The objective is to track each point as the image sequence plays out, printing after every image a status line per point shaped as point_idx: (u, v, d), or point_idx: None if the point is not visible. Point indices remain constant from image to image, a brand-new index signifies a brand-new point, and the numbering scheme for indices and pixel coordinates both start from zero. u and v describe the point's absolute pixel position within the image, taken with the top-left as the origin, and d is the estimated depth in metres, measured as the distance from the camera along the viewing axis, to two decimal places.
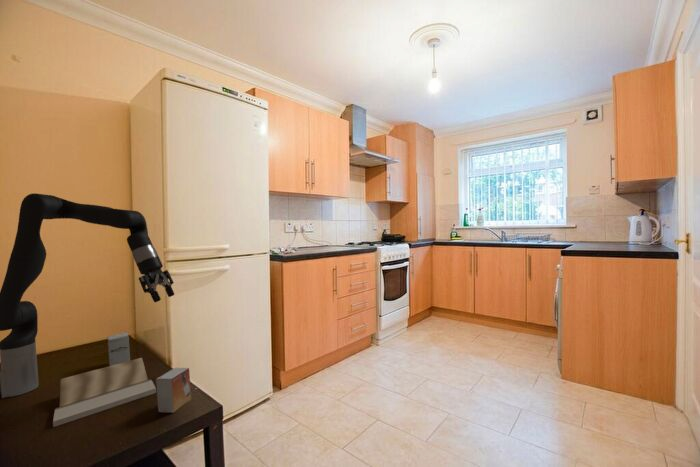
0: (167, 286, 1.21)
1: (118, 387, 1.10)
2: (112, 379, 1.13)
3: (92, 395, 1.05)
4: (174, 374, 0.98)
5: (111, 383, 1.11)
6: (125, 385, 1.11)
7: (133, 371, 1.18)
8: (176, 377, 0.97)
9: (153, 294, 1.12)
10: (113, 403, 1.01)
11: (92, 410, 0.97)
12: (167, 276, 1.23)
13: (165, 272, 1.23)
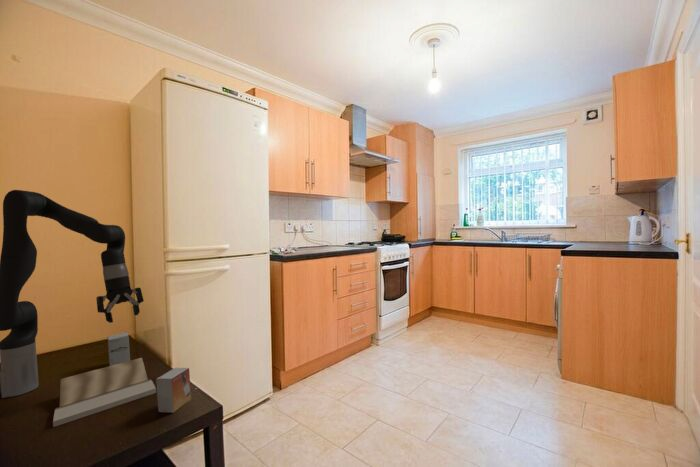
0: (134, 304, 1.22)
1: (118, 387, 1.10)
2: (112, 379, 1.13)
3: (92, 395, 1.05)
4: (174, 374, 0.98)
5: (111, 383, 1.11)
6: (125, 385, 1.11)
7: (133, 371, 1.18)
8: (176, 377, 0.97)
9: (106, 315, 1.14)
10: (113, 403, 1.01)
11: (92, 410, 0.97)
12: (138, 294, 1.23)
13: (136, 290, 1.23)
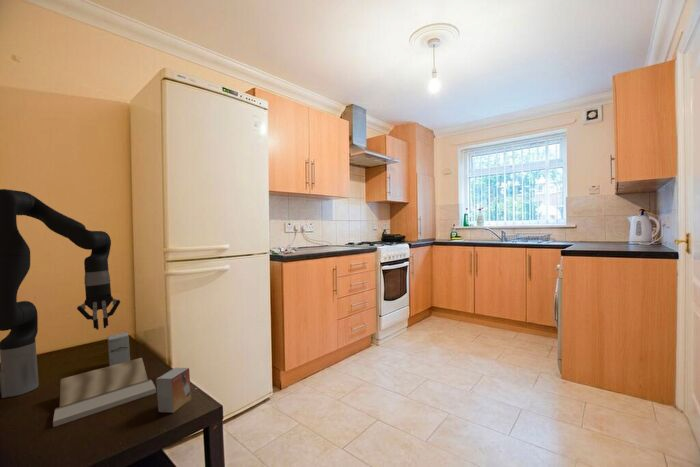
0: None
1: (118, 387, 1.10)
2: (112, 379, 1.13)
3: (92, 395, 1.05)
4: (174, 374, 0.98)
5: (111, 383, 1.11)
6: (125, 385, 1.11)
7: (133, 371, 1.18)
8: (176, 377, 0.97)
9: None
10: (113, 403, 1.01)
11: (92, 410, 0.97)
12: (113, 306, 1.21)
13: (116, 301, 1.21)
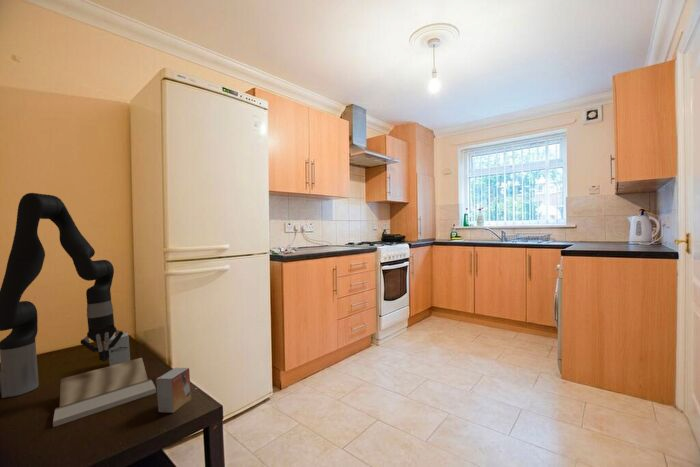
0: (104, 349, 1.15)
1: (118, 387, 1.10)
2: (112, 379, 1.13)
3: (92, 395, 1.05)
4: (174, 374, 0.98)
5: (111, 383, 1.11)
6: (125, 385, 1.11)
7: (133, 371, 1.18)
8: (176, 377, 0.97)
9: (99, 354, 1.14)
10: (113, 403, 1.01)
11: (92, 410, 0.97)
12: (116, 337, 1.17)
13: (119, 333, 1.18)
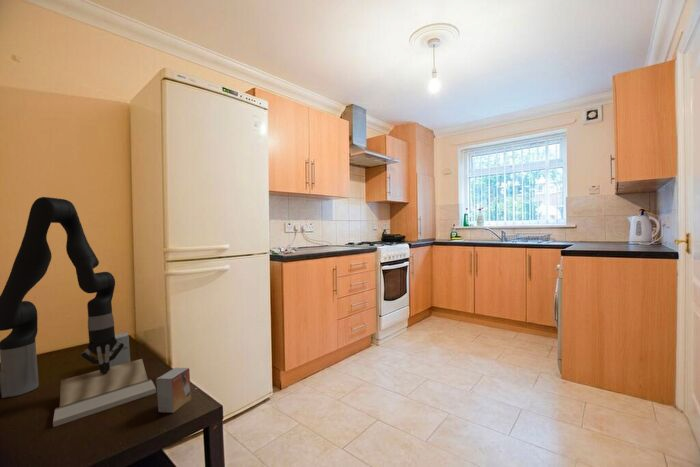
0: None
1: (118, 387, 1.10)
2: (112, 379, 1.13)
3: (92, 395, 1.05)
4: (174, 374, 0.98)
5: (111, 383, 1.11)
6: (125, 385, 1.11)
7: (133, 372, 1.18)
8: (176, 377, 0.97)
9: None
10: (113, 403, 1.01)
11: (92, 410, 0.97)
12: (116, 349, 1.18)
13: (119, 345, 1.18)
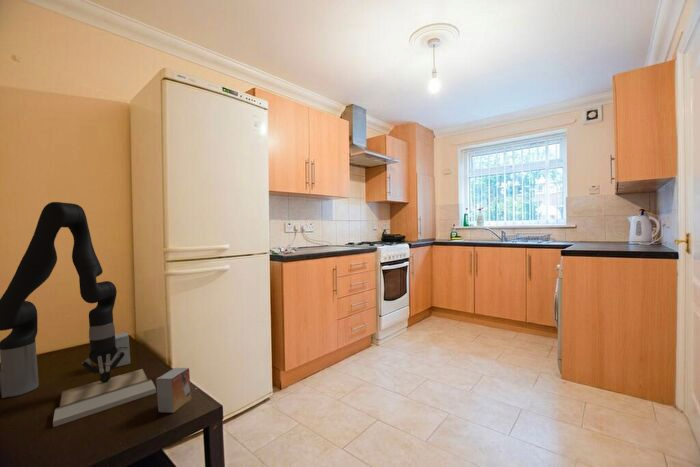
0: (105, 370, 1.16)
1: (118, 387, 1.11)
2: (113, 384, 1.14)
3: (92, 395, 1.06)
4: (174, 374, 0.98)
5: (111, 386, 1.12)
6: (125, 385, 1.12)
7: (133, 377, 1.19)
8: (176, 377, 0.97)
9: (100, 375, 1.15)
10: (113, 403, 1.01)
11: (92, 410, 0.97)
12: (117, 358, 1.18)
13: (120, 354, 1.19)
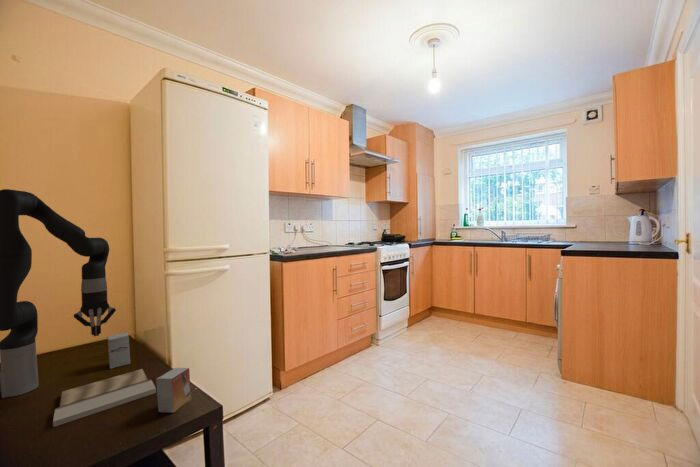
0: None
1: (118, 387, 1.11)
2: (113, 384, 1.14)
3: (92, 395, 1.06)
4: (174, 374, 0.98)
5: (111, 386, 1.12)
6: (125, 385, 1.12)
7: (133, 377, 1.19)
8: (176, 377, 0.97)
9: (91, 329, 1.17)
10: (113, 403, 1.01)
11: (92, 410, 0.97)
12: (108, 314, 1.20)
13: (111, 309, 1.21)
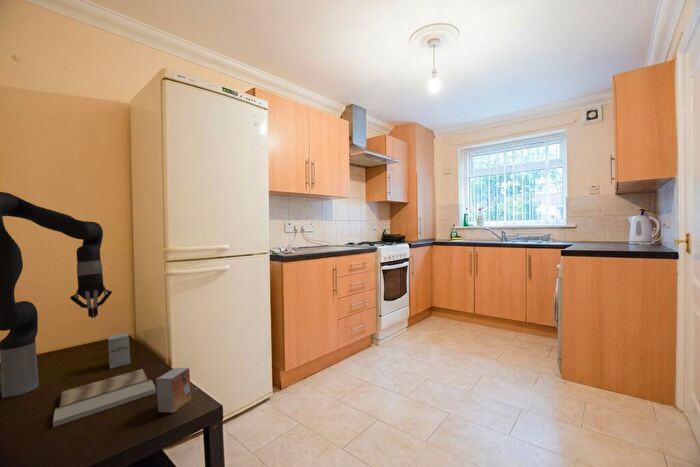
0: (93, 306, 1.20)
1: (118, 387, 1.11)
2: (113, 384, 1.14)
3: (92, 395, 1.06)
4: (174, 374, 0.98)
5: (111, 386, 1.12)
6: (125, 385, 1.12)
7: (133, 377, 1.19)
8: (176, 377, 0.97)
9: (88, 310, 1.19)
10: (113, 403, 1.01)
11: (92, 410, 0.97)
12: (104, 296, 1.22)
13: (107, 292, 1.23)
